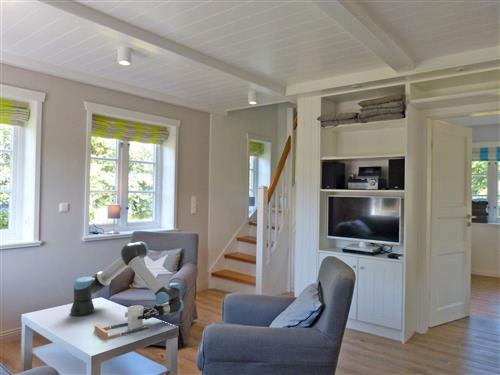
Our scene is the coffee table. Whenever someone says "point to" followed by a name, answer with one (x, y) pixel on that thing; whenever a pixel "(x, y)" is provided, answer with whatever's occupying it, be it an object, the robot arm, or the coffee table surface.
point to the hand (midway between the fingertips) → (128, 316)
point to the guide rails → (129, 330)
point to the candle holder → (135, 311)
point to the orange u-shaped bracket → (104, 332)
